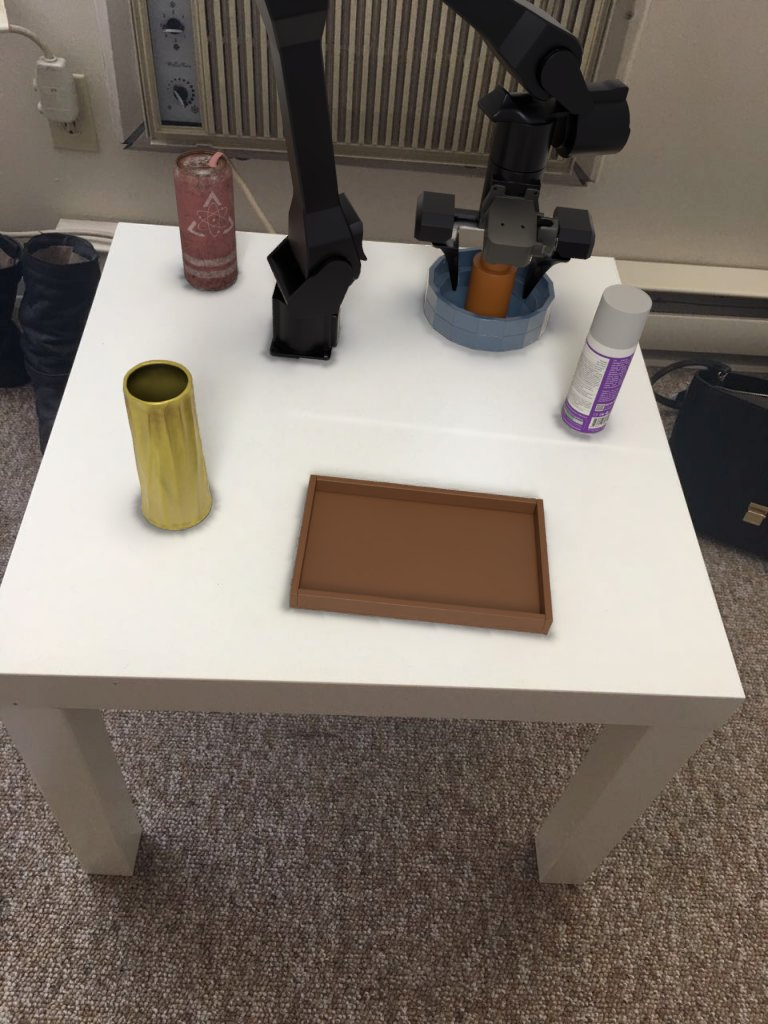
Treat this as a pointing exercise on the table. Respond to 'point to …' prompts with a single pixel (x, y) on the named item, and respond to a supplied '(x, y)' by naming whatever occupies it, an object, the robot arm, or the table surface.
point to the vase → (167, 444)
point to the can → (206, 219)
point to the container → (605, 358)
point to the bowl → (485, 331)
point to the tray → (423, 555)
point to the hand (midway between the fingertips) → (489, 293)
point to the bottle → (489, 288)
